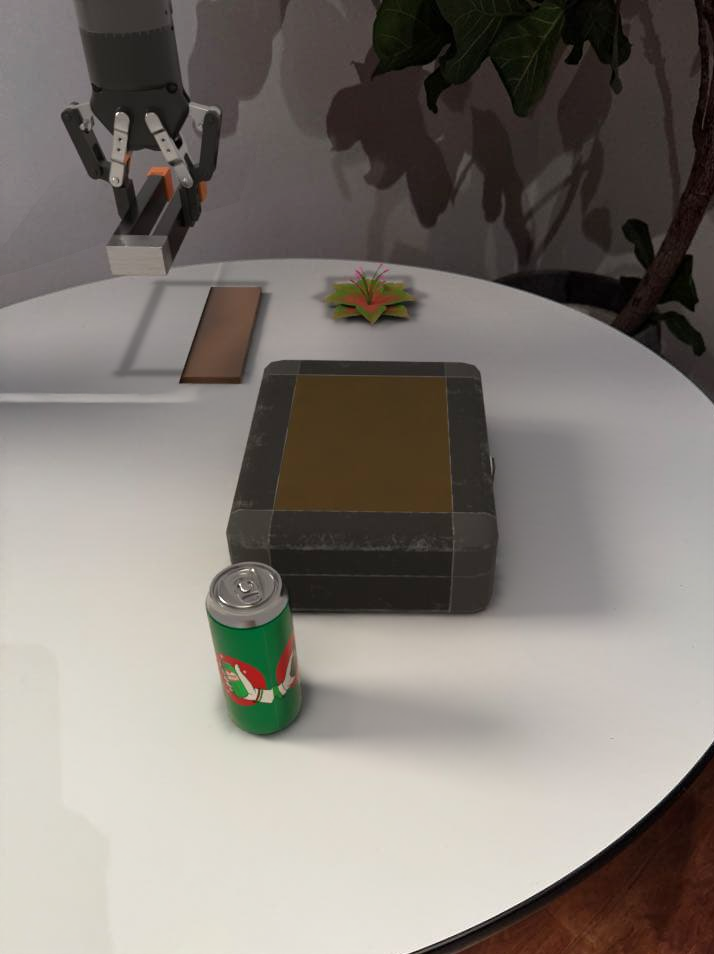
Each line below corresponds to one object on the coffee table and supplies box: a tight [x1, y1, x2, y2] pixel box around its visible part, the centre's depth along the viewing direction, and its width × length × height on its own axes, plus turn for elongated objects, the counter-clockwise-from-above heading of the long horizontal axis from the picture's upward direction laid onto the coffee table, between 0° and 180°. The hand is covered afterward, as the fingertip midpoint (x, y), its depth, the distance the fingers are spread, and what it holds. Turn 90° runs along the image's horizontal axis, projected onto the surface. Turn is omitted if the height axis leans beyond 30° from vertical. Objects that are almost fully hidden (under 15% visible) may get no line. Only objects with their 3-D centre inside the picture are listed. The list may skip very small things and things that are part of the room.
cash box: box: [225, 359, 499, 614], centre depth 73 cm, size 25×20×8 cm
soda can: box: [204, 562, 303, 735], centre depth 56 cm, size 5×5×12 cm
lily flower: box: [320, 263, 419, 326], centre depth 101 cm, size 12×12×5 cm
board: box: [178, 286, 263, 384], centre depth 97 cm, size 12×20×1 cm, turn 1°
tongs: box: [105, 166, 208, 277], centre depth 81 cm, size 19×5×3 cm, turn 179°
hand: (162, 222), depth 82 cm, fingers closed on tongs, 4 cm apart
